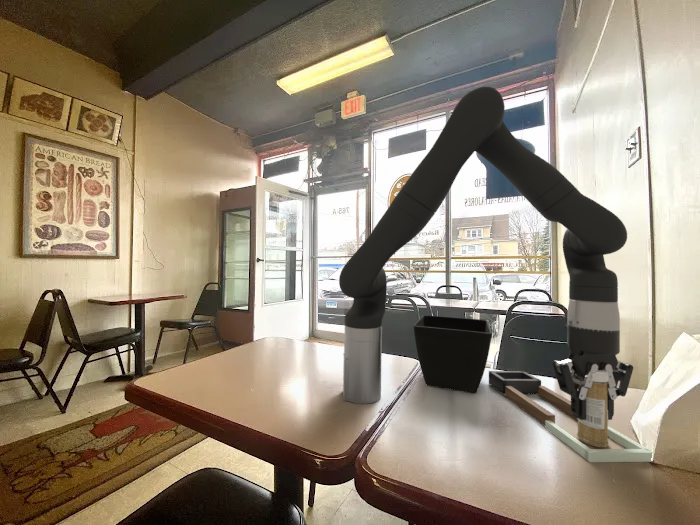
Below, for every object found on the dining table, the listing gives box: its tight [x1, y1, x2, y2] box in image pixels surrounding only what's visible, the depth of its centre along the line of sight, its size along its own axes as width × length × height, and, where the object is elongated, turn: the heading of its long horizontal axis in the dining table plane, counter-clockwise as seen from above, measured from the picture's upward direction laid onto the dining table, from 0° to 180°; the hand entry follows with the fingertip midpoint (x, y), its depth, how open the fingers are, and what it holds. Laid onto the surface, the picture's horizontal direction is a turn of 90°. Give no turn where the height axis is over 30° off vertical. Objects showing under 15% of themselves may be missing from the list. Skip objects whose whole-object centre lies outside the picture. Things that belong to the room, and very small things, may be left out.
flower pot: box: [413, 314, 493, 394], centre depth 83 cm, size 19×19×17 cm
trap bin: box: [488, 370, 542, 395], centre depth 79 cm, size 10×7×4 cm
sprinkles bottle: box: [576, 370, 609, 448], centre depth 55 cm, size 5×5×14 cm
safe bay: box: [544, 420, 654, 463], centre depth 54 cm, size 11×10×2 cm
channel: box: [504, 385, 578, 427], centre depth 67 cm, size 10×15×2 cm, turn 2°
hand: (592, 417), depth 55 cm, fingers closed on sprinkles bottle, 4 cm apart
